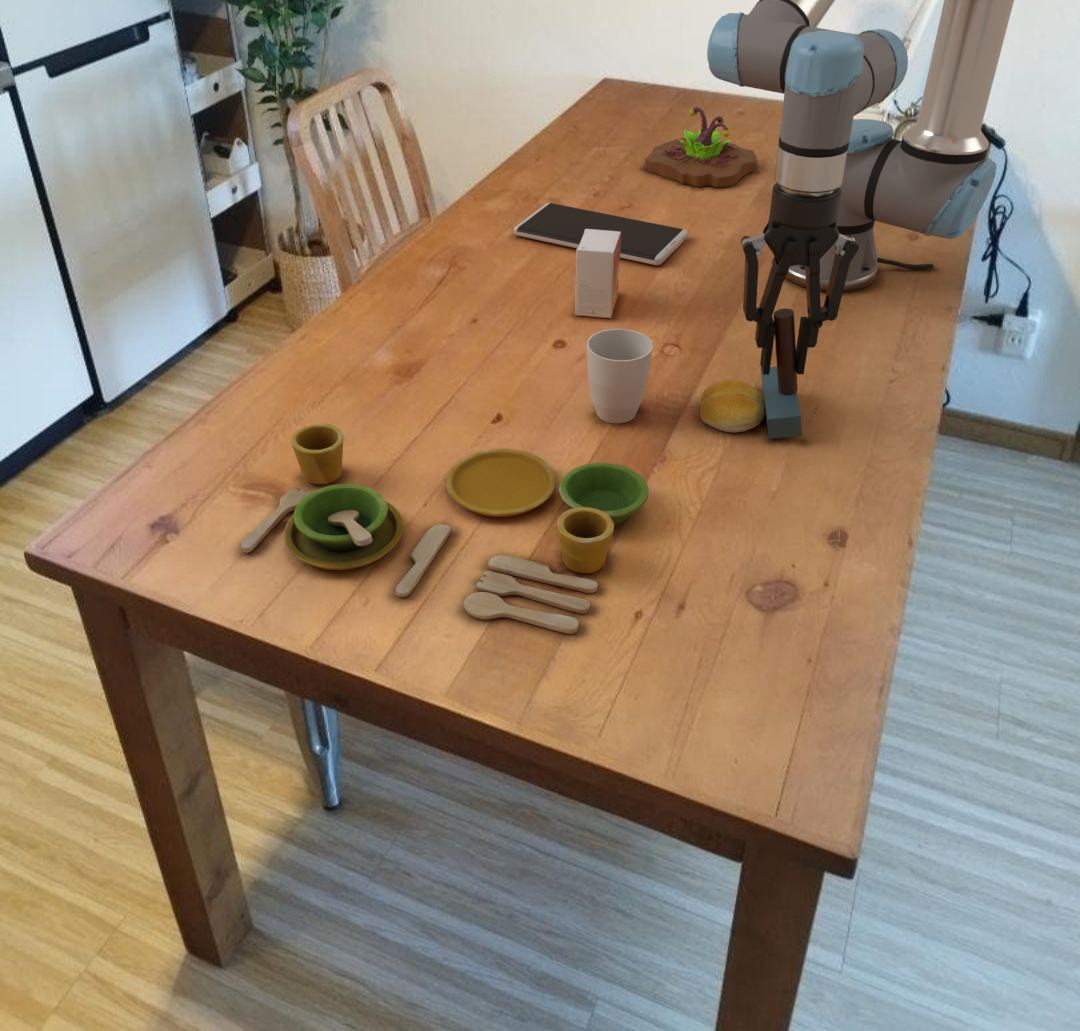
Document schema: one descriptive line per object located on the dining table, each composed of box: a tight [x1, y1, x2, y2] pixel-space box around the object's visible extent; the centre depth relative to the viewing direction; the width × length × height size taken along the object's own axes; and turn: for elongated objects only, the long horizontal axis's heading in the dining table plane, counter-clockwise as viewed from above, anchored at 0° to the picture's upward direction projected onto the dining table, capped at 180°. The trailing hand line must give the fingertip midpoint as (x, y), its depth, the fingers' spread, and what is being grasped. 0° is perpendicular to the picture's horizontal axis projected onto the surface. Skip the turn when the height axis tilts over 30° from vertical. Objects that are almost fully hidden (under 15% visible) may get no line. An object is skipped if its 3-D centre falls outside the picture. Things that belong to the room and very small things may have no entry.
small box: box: [574, 229, 621, 319], centre depth 159 cm, size 8×6×10 cm
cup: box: [586, 328, 653, 424], centre depth 135 cm, size 8×8×10 cm
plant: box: [644, 106, 757, 189], centre depth 205 cm, size 20×20×11 cm
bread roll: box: [699, 379, 766, 433], centre depth 137 cm, size 8×9×4 cm
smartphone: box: [513, 202, 689, 266], centre depth 181 cm, size 13×27×2 cm, turn 63°
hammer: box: [760, 307, 803, 440], centre depth 133 cm, size 4×12×14 cm, turn 174°
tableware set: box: [241, 423, 650, 635], centre depth 119 cm, size 41×28×6 cm
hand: (781, 368), depth 134 cm, fingers closed on hammer, 3 cm apart
